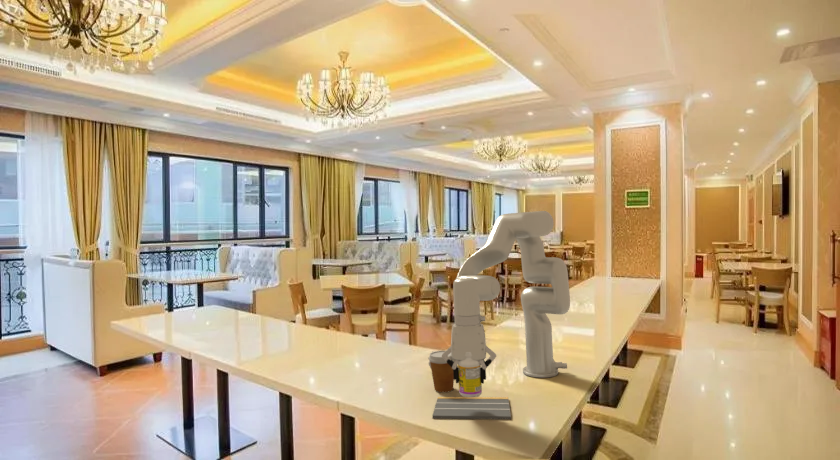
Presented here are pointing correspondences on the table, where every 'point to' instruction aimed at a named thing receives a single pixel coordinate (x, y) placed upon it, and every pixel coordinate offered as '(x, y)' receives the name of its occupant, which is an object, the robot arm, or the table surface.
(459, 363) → the supplement bottle
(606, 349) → the table surface
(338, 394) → the table surface
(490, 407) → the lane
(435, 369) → the disposable coffee cup
